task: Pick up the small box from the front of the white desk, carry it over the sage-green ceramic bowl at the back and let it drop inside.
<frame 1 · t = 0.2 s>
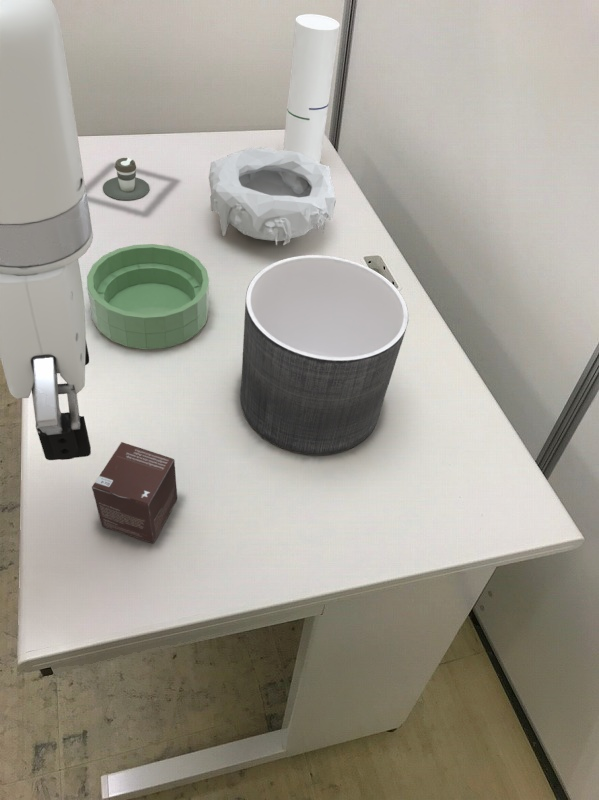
hand: (69, 406, 51), 20 cm above the table, tool pointing down, fingers open, 9 cm apart
box: (140, 513, 68), on the table
green bowl: (151, 313, 89), on the table
cylindrical container: (300, 168, 121), on the table
planter: (309, 401, 81), on the table
bowl: (269, 227, 107), on the table
coffee cup: (128, 189, 110), on the table
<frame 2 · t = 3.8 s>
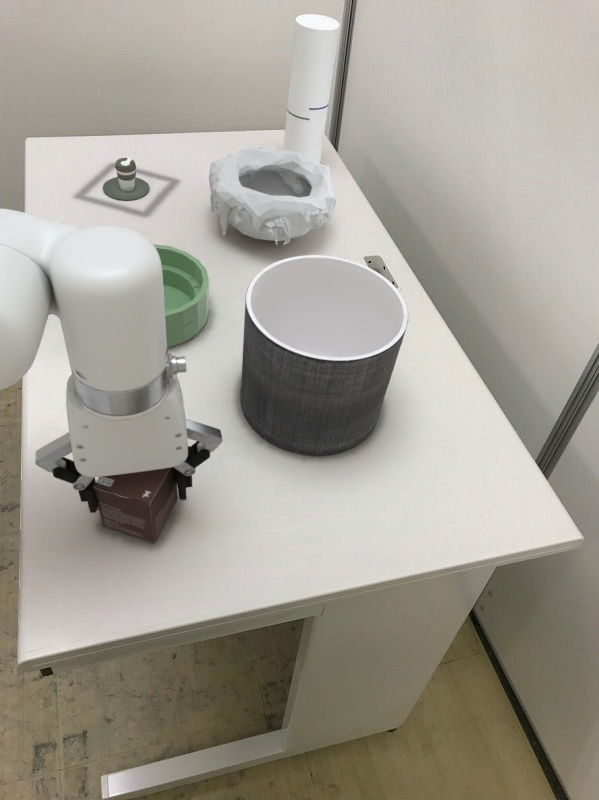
hand: (138, 494, 65), 4 cm above the table, tool pointing down, fingers closed on box, 8 cm apart
box: (141, 513, 68), on the table, touching gripper
everything else where it was.
when the fingers open (7 cm above the table, at t = 11.7 s): box drops 3 cm, resting on green bowl.
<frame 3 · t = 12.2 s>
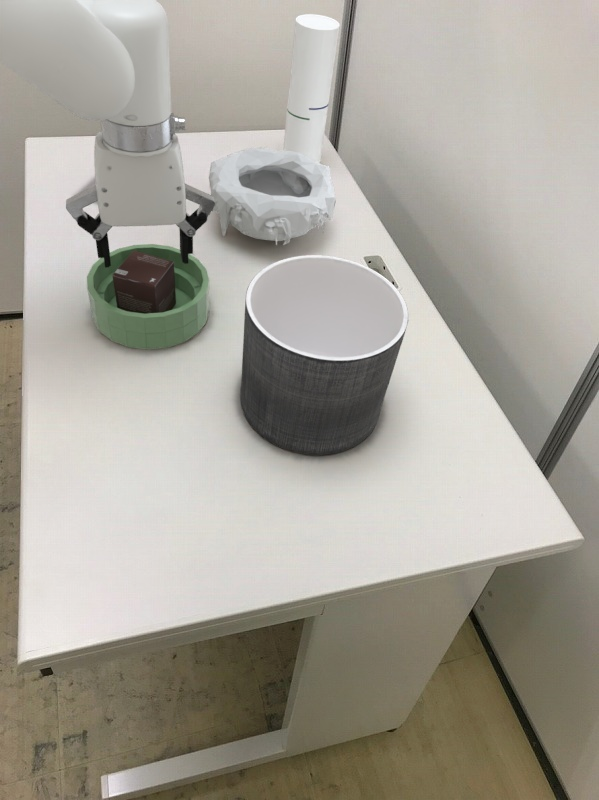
hand: (146, 259, 82), 9 cm above the table, tool pointing down, fingers open, 9 cm apart
box: (147, 312, 88), resting on green bowl
everything else where it was.
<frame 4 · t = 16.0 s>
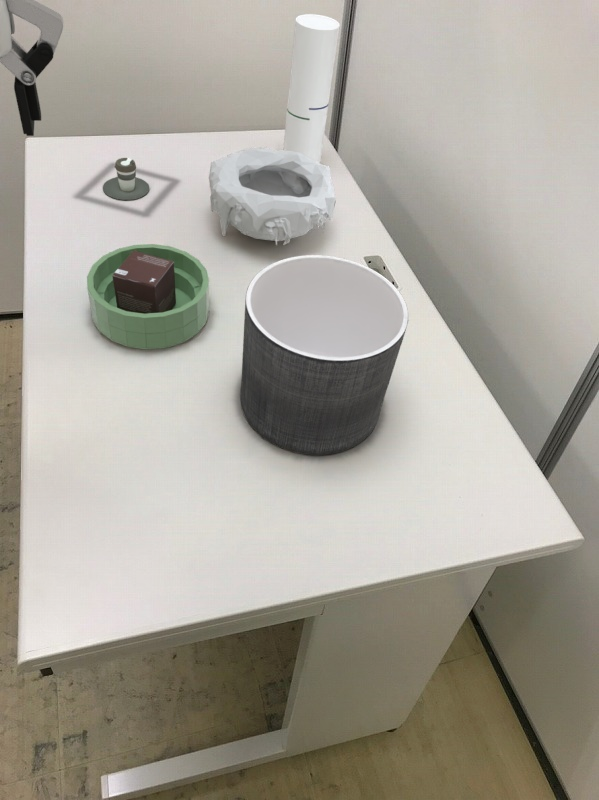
nothing on the table moved.
at the end: box inside the target area in the green bowl (0.5 cm from its centre), point 0.4 cm above the green bowl's base; the gripper is holding nothing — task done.
